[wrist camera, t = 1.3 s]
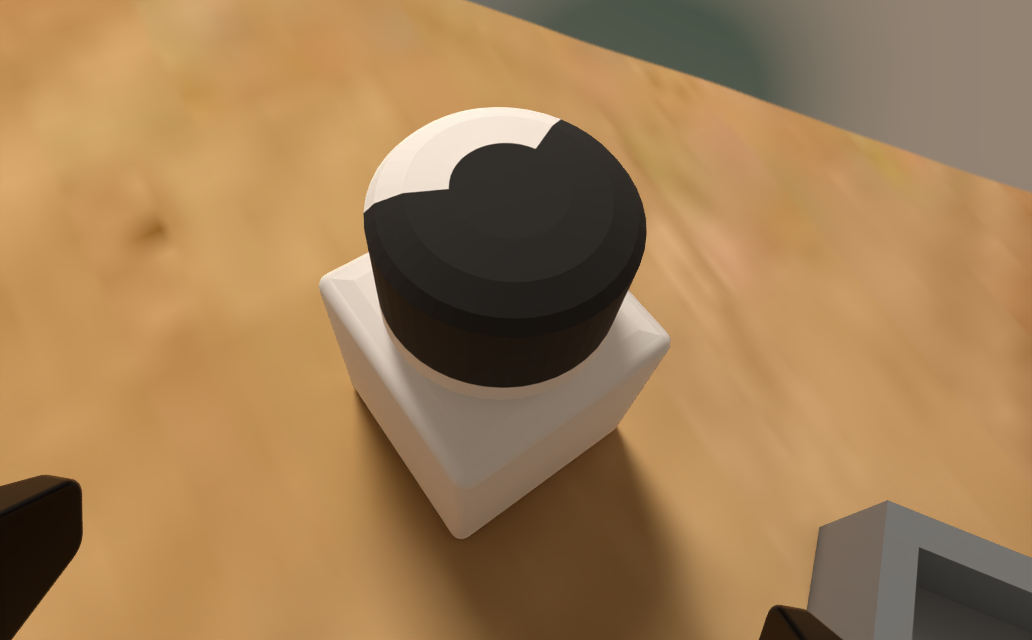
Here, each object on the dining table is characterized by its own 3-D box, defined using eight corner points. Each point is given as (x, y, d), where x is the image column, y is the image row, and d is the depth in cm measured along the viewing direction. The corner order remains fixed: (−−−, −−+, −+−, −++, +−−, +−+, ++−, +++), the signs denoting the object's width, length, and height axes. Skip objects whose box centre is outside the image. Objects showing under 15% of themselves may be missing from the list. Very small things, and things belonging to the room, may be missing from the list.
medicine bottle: (619, 427, 24) (754, 231, 13) (458, 546, 21) (463, 421, 11) (505, 288, 26) (541, 29, 15) (348, 380, 23) (265, 146, 13)
